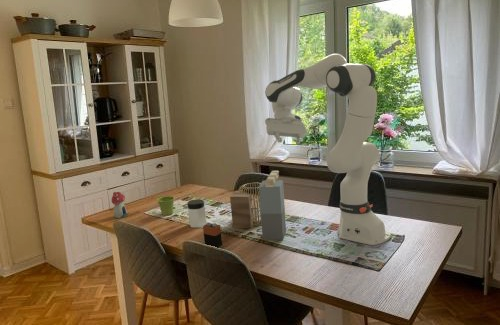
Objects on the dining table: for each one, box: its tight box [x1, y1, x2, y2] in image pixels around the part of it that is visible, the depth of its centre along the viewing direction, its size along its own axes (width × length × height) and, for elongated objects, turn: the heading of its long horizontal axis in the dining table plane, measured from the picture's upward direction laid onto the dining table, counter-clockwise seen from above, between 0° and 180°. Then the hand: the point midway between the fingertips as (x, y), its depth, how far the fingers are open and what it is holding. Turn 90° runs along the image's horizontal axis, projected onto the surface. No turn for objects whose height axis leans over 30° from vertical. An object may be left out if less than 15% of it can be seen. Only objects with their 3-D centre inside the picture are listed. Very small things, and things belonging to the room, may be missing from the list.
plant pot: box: [156, 195, 176, 216], centre depth 212 cm, size 9×9×9 cm
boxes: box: [229, 179, 287, 241], centre depth 179 cm, size 23×26×24 cm
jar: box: [186, 198, 208, 229], centre depth 192 cm, size 9×8×12 cm
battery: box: [202, 222, 223, 248], centre depth 166 cm, size 4×7×10 cm, turn 55°
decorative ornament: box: [111, 191, 129, 219], centre depth 213 cm, size 9×6×15 cm
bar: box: [264, 170, 280, 187], centre depth 171 cm, size 18×3×2 cm, turn 168°
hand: (289, 142), depth 184 cm, fingers open, 8 cm apart
